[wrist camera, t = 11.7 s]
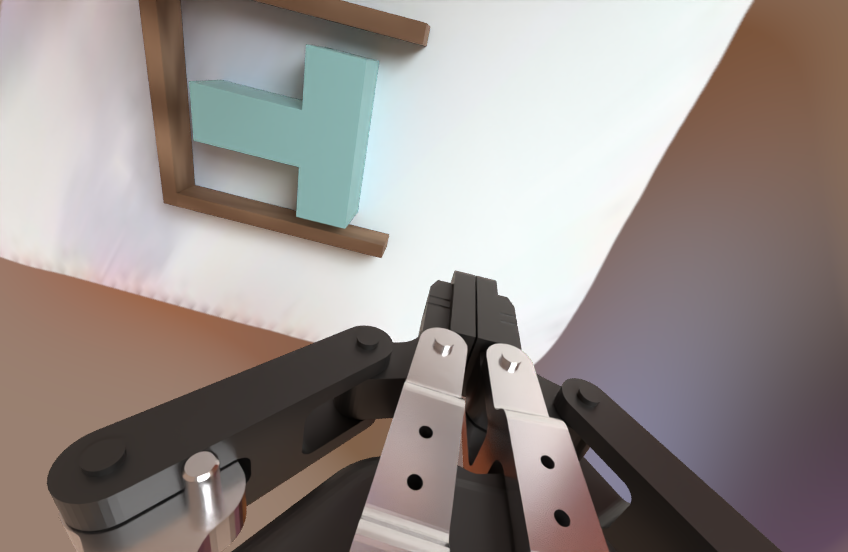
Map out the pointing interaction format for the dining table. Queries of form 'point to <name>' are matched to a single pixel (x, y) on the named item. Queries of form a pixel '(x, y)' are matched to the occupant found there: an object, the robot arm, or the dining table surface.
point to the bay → (175, 133)
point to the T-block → (300, 128)
